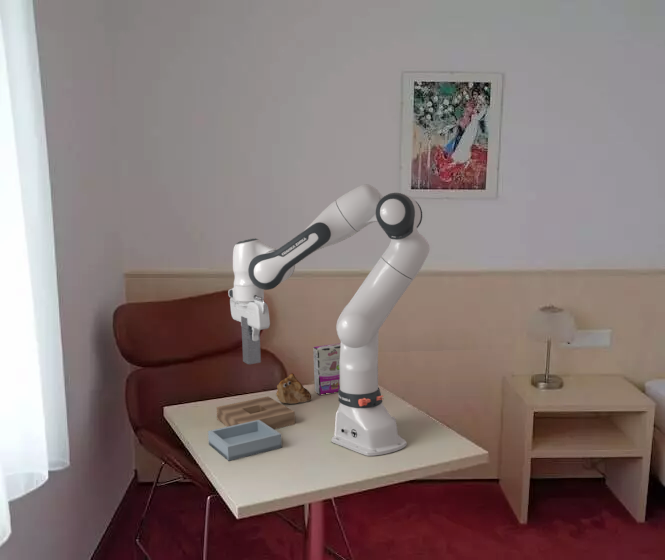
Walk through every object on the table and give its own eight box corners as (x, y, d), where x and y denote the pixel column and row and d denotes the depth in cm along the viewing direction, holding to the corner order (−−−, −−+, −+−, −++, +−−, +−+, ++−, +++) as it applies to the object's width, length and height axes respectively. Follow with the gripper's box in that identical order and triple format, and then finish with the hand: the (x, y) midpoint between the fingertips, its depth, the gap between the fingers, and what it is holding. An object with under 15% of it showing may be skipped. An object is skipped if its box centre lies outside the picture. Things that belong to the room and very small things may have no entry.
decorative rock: (281, 408, 227) (280, 376, 226) (273, 403, 233) (272, 372, 231) (313, 402, 233) (312, 371, 232) (305, 397, 238) (304, 366, 237)
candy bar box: (342, 387, 249) (341, 342, 246) (348, 391, 244) (347, 345, 242) (313, 391, 244) (312, 346, 242) (319, 395, 240) (318, 349, 237)
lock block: (295, 424, 213) (294, 411, 212) (240, 436, 204) (240, 423, 203) (268, 408, 228) (268, 396, 228) (217, 419, 219) (216, 407, 218)
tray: (281, 447, 195) (281, 434, 194) (228, 461, 187) (227, 446, 186) (259, 432, 207) (259, 419, 206) (208, 444, 198) (208, 431, 198)
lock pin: (260, 362, 210) (258, 316, 207) (248, 364, 208) (246, 318, 205) (255, 359, 213) (253, 314, 211) (243, 361, 211) (241, 316, 209)
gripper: (274, 297, 200) (276, 344, 202) (244, 288, 217) (246, 331, 219) (254, 299, 197) (256, 347, 199) (225, 290, 214) (228, 334, 216)
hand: (251, 338), depth 209 cm, fingers closed on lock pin, 4 cm apart
